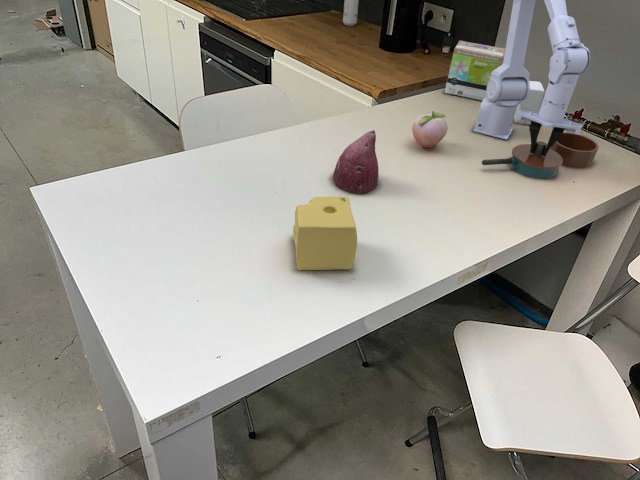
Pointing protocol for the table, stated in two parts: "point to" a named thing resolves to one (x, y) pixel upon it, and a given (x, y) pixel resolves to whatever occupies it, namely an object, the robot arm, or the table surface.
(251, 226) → the table surface
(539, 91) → the small box
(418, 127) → the decorative fruit
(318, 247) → the cheese
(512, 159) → the pan handle
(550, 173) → the pan
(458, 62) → the tea box
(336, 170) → the vegetable
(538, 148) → the lid
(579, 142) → the casserole
